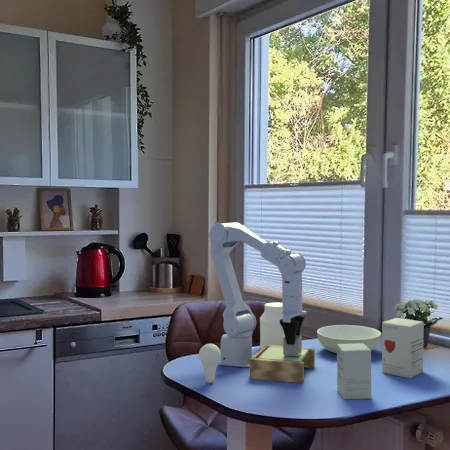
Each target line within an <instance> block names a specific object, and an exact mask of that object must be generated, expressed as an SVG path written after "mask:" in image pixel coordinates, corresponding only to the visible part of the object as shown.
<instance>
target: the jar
mask: <svg viewBox="0 0 450 450" xmlns="http://www.w3.org/2000/svg"><path fill="white" fill-rule="evenodd" d="M280 319H283V315H282V302H278V301H277V302H267V303H264V311H263V313H262V314H261V316H260V317H259V324H260V325H259V329H260V330H259V333H260V337H259V338H260V339H259V340H260V341H259V342H260V343H259V348H260V350H261V349H262V348H263V347H264V346H265V345H274V346H283V338H284V337H285V334H284V331H283V328H282V326H281V324H280Z"/></svg>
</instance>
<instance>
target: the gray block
mask: <svg viewBox="0 0 450 450" xmlns="http://www.w3.org/2000/svg"><path fill="white" fill-rule="evenodd" d="M302 337H303V335H296V339H295V343H294V345H289V344H287V343H286V339H285V337H284V338H283V355H288V356H299V355H300V354H301V353H302V348H303V347H302V345H303V344H302V342H303V341H302Z"/></svg>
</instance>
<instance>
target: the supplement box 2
mask: <svg viewBox="0 0 450 450" xmlns="http://www.w3.org/2000/svg"><path fill="white" fill-rule="evenodd" d="M381 324H382V328H381V330H382V331H381V339H382V340H381V341H382V342H381V343H382V345H381V347H382V349H381V352H382V353H381V355H382V356H381V358H382V359H381V373H383V374H387V375H393V376H395V377H396V376H397V377H402V378H406V379H413V378H414V377H416V376H418V375H420V374H421V373H423V372H424V326H425V325H424V324H425V322H424V321H422V320H420V321H419V320H414V319H410V318H409V319H408V318H406V319H405V318H401V317H400V318H399V317H395V318H394V317H393V318H392V319H388V320H385V321H383V322H382V323H381Z"/></svg>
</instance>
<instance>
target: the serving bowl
mask: <svg viewBox="0 0 450 450" xmlns="http://www.w3.org/2000/svg"><path fill="white" fill-rule="evenodd" d="M316 334H317V340H318V341H319V343H320V344H321V346H322V347H323V348H324V349H325V350H327V351H329V352H331V353H336V354H337V344H356V343H363V344H365V345H366V346H367V347H368V348H369V349H370V350H371V352H373V351H374V350H375V349H376V348H377V347H378V346H379V344H380V342H381V339H382V331H379V330H378V329H376V328H373V327H369V326H364V325H354V324H353V325H351V324H335V325H327V326H322V327H320V328H318V329H317V331H316Z"/></svg>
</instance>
